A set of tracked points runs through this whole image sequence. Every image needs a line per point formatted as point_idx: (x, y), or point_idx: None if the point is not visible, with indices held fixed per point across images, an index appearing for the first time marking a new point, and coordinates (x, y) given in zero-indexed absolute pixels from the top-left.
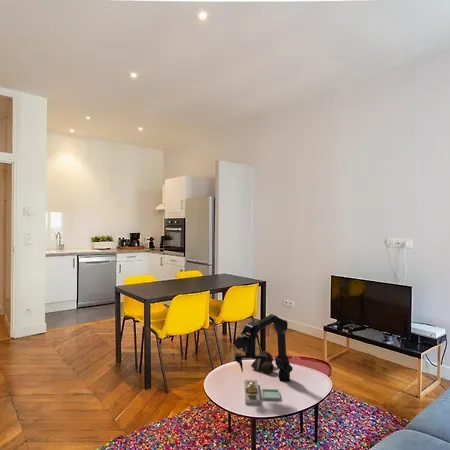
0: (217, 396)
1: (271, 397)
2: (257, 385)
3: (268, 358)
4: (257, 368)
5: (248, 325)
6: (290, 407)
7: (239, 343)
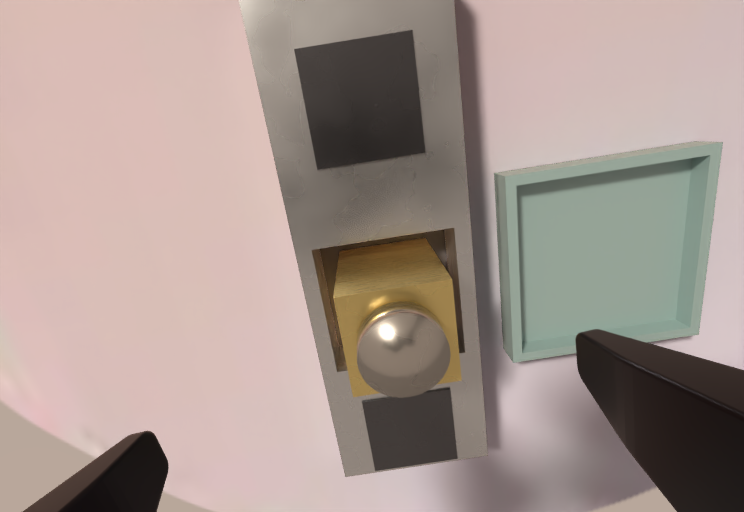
0: (48, 381)
1: None
2: (458, 138)
3: None
4: (636, 384)
5: None
6: None
7: None
